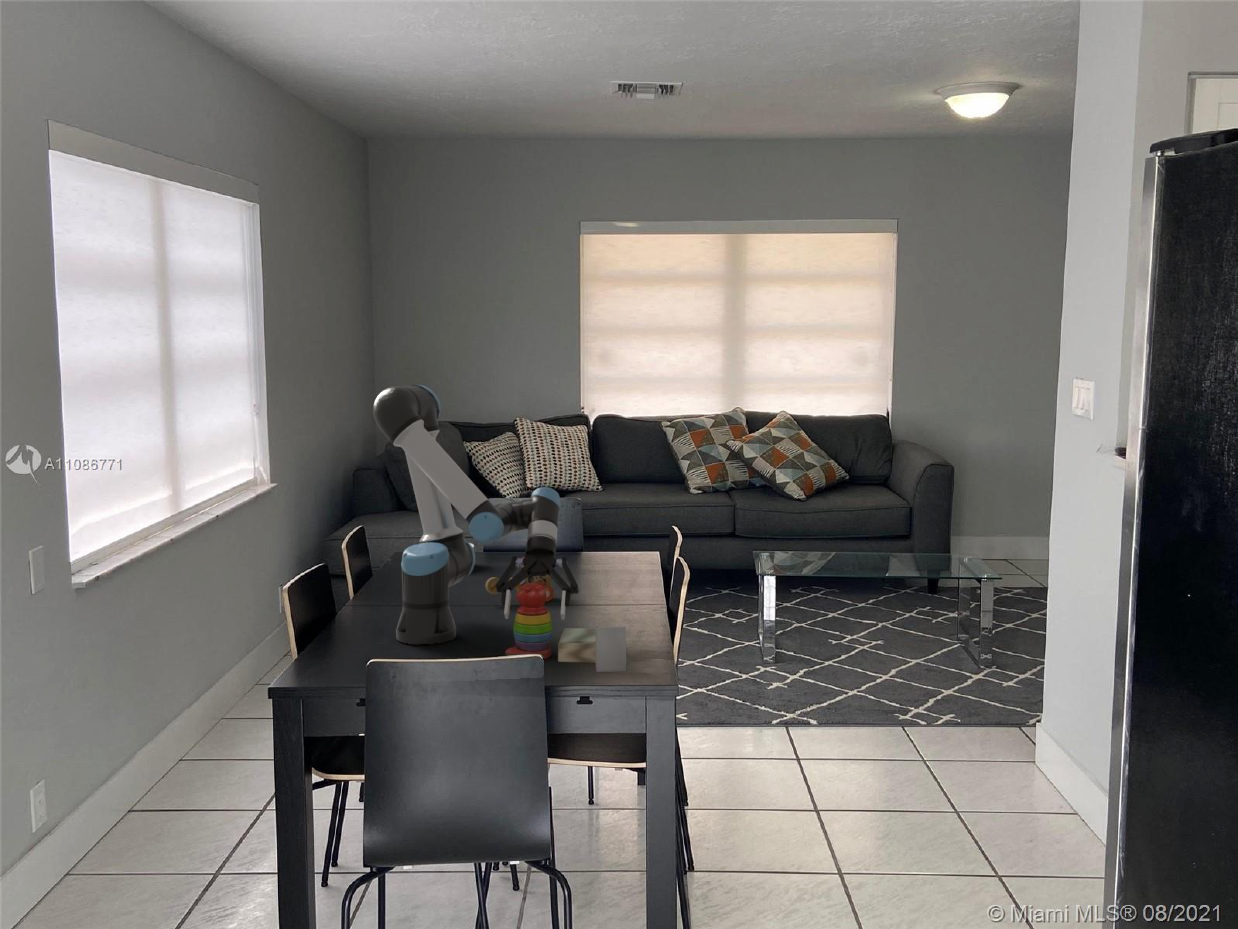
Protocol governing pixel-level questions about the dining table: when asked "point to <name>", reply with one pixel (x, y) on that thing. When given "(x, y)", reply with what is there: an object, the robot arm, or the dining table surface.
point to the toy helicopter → (531, 579)
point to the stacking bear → (532, 622)
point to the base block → (577, 645)
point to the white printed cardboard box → (610, 649)
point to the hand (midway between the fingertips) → (534, 616)
